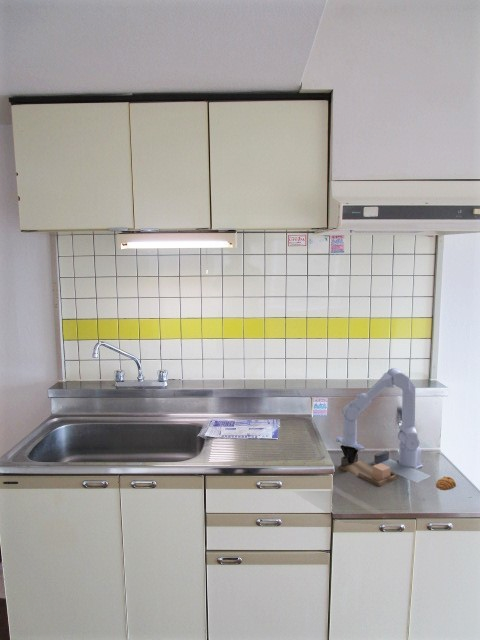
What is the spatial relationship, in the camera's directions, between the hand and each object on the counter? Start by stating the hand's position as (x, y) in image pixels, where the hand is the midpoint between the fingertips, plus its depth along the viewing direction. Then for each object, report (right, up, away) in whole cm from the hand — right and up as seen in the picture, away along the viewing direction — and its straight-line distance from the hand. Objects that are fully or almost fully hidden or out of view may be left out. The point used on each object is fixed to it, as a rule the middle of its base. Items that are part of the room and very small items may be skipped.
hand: (349, 461), depth 191 cm
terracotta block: (+9, -2, -14) cm, 17 cm away
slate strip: (+21, -3, -6) cm, 22 cm away
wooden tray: (+6, -3, -8) cm, 10 cm away
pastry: (+33, -5, -19) cm, 39 cm away
